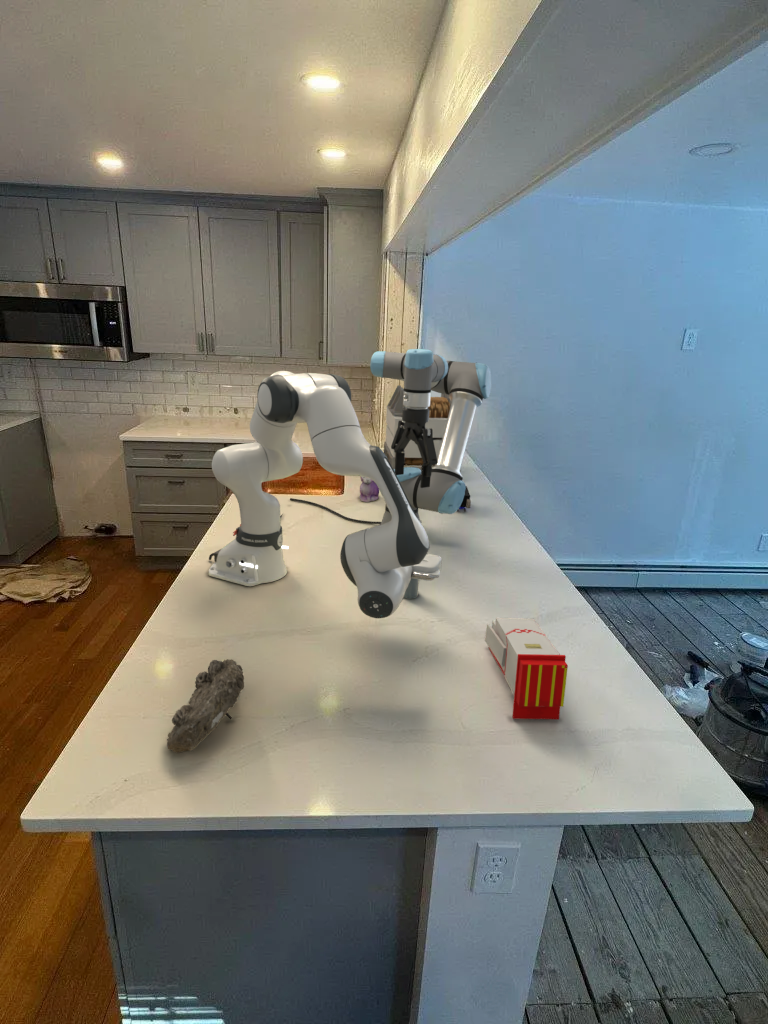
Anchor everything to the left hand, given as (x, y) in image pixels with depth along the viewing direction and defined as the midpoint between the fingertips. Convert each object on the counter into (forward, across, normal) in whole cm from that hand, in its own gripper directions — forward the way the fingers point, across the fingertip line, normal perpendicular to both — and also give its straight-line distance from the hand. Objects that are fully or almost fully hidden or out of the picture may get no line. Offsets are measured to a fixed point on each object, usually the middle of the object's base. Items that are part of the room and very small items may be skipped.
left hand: (404, 549), depth 140 cm
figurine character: (+91, -6, +19) cm, 93 cm away
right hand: (+28, +4, -9) cm, 30 cm away
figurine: (+89, +31, +19) cm, 96 cm away
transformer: (+136, +18, +19) cm, 138 cm away
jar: (+12, 0, +19) cm, 22 cm away
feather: (+57, +56, +19) cm, 82 cm away
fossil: (-48, +27, +19) cm, 58 cm away
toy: (-18, -30, +19) cm, 40 cm away
